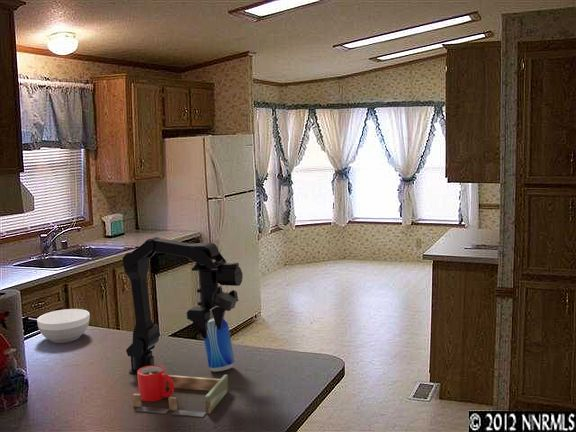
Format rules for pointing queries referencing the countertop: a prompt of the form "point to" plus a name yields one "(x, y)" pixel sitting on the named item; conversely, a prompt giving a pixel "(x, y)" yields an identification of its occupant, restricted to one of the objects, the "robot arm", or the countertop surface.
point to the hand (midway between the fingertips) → (212, 333)
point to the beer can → (218, 346)
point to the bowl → (63, 324)
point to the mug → (154, 383)
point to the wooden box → (198, 383)
